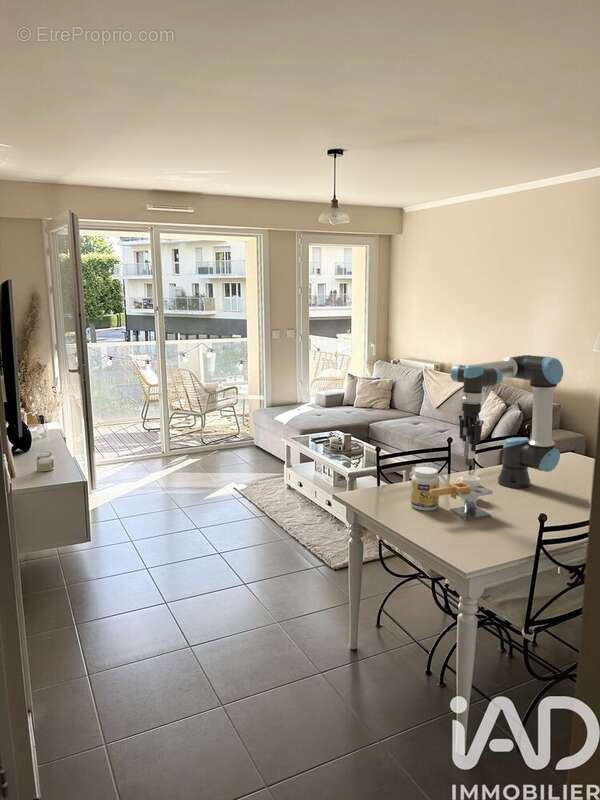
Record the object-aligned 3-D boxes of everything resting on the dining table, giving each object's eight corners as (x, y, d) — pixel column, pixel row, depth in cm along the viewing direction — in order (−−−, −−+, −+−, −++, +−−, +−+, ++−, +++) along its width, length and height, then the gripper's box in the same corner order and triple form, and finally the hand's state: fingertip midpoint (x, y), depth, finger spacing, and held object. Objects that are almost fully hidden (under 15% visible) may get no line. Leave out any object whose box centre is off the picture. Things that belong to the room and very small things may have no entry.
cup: (471, 503, 266) (472, 482, 265) (449, 496, 276) (450, 475, 274) (482, 499, 271) (483, 478, 270) (461, 492, 281) (462, 472, 279)
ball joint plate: (472, 507, 262) (473, 481, 260) (491, 516, 251) (492, 489, 249) (444, 511, 257) (445, 485, 254) (462, 521, 245) (463, 494, 243)
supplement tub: (416, 512, 256) (417, 474, 253) (406, 502, 268) (407, 466, 265) (442, 510, 258) (444, 473, 255) (432, 501, 270) (433, 465, 267)
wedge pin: (471, 462, 252) (473, 426, 249) (475, 464, 249) (478, 427, 246) (460, 464, 250) (462, 427, 247) (465, 466, 247) (467, 428, 244)
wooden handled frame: (460, 493, 254) (461, 482, 254) (470, 498, 249) (470, 486, 248) (426, 498, 248) (427, 487, 247) (435, 503, 242) (435, 492, 241)
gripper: (452, 399, 251) (449, 453, 255) (477, 406, 236) (473, 463, 240) (466, 398, 254) (463, 451, 258) (492, 405, 239) (488, 461, 243)
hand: (468, 457), depth 249 cm, fingers closed on wedge pin, 3 cm apart
